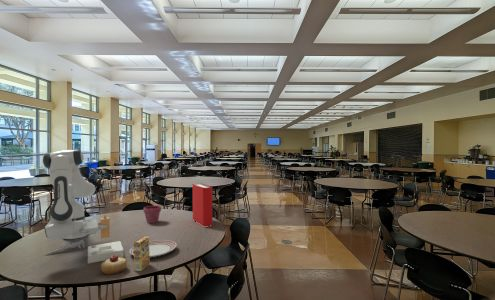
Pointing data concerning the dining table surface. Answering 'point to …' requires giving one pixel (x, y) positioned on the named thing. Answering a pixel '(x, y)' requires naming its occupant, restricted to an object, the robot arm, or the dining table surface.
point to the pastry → (113, 265)
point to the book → (202, 204)
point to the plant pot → (152, 213)
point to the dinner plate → (158, 247)
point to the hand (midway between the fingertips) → (106, 224)
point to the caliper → (68, 247)
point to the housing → (104, 251)
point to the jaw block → (105, 231)
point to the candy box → (141, 254)
